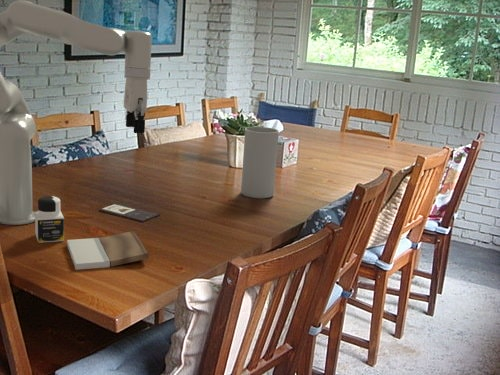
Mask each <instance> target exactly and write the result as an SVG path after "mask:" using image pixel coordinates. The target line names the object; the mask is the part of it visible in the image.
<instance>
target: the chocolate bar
mask: <svg viewBox="0 0 500 375" xmlns="http://www.w3.org/2000/svg"><path fill="white" fill-rule="evenodd" d="M98 212H102V213H106V214H109V215H112V214H113V215H112V216H116V215H117V217H120V216H121V218H124V217H125V218H124V219H128V218H129V219H128V220H132V221H136V220H137V222H139V223H144V222H147V220H148V221H150V220H153V219H155V218H157V217H160V216H161V214H160V213H157V212H152V211H148V210H145V209H140V208H137V207H133V206H129V205H125V204H120V203H114V204H112V205H108V206H105V207H103V208H99V210H98ZM154 217H155V218H154ZM152 218H153V219H152ZM149 219H150V220H149Z"/></svg>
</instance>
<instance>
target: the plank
mask: <svg viewBox="0 0 500 375" xmlns="http://www.w3.org/2000/svg"><path fill="white" fill-rule="evenodd" d="M98 238H99V240H100V242H101V244H102V246H103V248H104V250H105V252H106V254H107V256H108V258H109V260H110V267H115V266H116V267H117V266H120V265H124V264H130V263H134V262H138V261H142V260H148V259H149V258H150V257H149V252H148V251H147V249H146V248H145V246H144V244H143V243H142V241H141V240H140V239H139V237H138V236H137V234H136V232H135V231H134V230H131V231H126V232H122V233H118V234H117V233H116V234H112V235H107V236H103V237H102V236H101V237H98Z"/></svg>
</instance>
